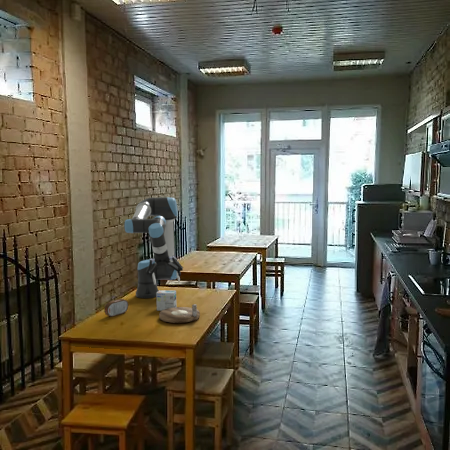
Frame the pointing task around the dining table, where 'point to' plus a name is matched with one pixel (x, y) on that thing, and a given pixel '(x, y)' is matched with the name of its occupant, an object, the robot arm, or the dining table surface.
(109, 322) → the dining table surface
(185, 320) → the brown wide round piece
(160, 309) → the light bulb box
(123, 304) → the tin
